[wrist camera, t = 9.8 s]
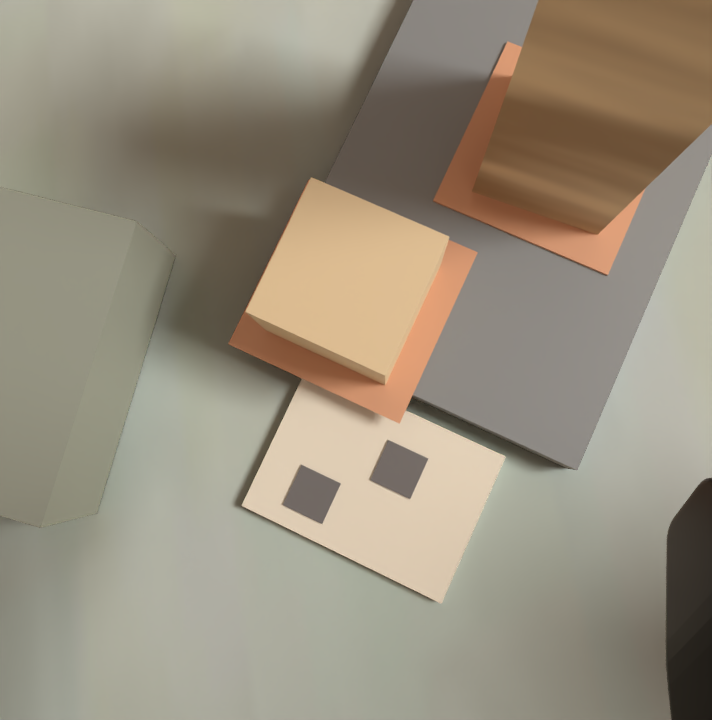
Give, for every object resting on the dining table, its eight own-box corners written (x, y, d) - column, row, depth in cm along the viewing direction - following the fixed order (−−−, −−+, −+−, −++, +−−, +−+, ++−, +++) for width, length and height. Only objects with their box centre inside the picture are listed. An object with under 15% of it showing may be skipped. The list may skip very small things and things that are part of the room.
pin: (597, 234, 21) (956, -113, 8) (471, 191, 21) (610, -209, 8) (638, 116, 21) (1044, -401, 8) (515, 76, 21) (713, -482, 8)
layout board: (555, 497, 21) (597, 511, 17) (236, 348, 22) (201, 328, 18) (729, 91, 22) (806, 13, 18) (420, -30, 23) (427, -130, 19)
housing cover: (96, 513, 21) (40, 528, 18) (-98, 457, 22) (-189, 461, 18) (175, 255, 22) (136, 221, 19) (-13, 207, 23) (-84, 165, 19)
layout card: (440, 601, 20) (441, 604, 20) (243, 504, 21) (241, 505, 21) (503, 456, 21) (506, 456, 21) (309, 366, 22) (308, 365, 21)
